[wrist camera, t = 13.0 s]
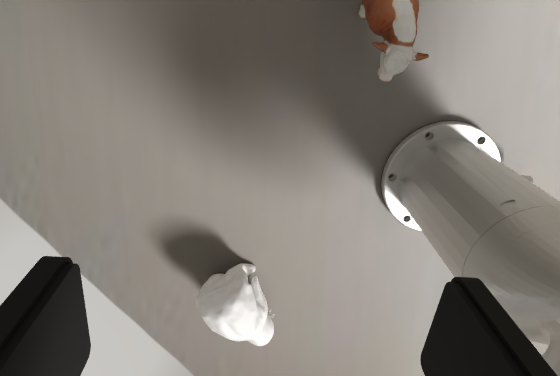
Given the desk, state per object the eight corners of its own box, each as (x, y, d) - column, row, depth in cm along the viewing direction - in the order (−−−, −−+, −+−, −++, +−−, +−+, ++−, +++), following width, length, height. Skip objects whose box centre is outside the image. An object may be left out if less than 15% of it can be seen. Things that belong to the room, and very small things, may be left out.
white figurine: (244, 299, 37) (294, 367, 43) (243, 243, 45) (285, 308, 51) (186, 323, 38) (242, 386, 44) (194, 264, 46) (242, 325, 52)
